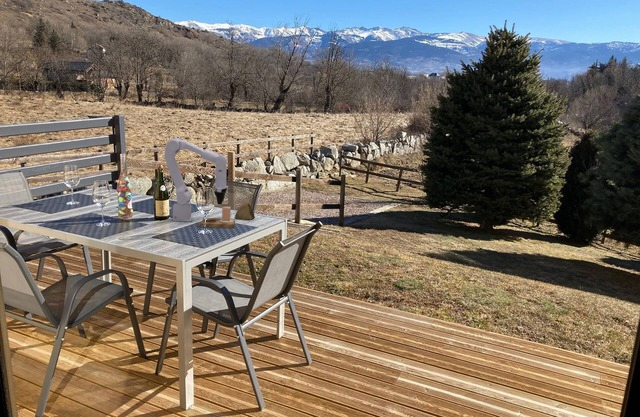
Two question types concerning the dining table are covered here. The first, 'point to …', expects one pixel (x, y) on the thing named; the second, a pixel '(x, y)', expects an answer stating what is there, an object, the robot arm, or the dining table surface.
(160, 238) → the dining table surface
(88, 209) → the dining table surface
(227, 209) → the terracotta block
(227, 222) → the cream disc
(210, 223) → the walnut board
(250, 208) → the rock
